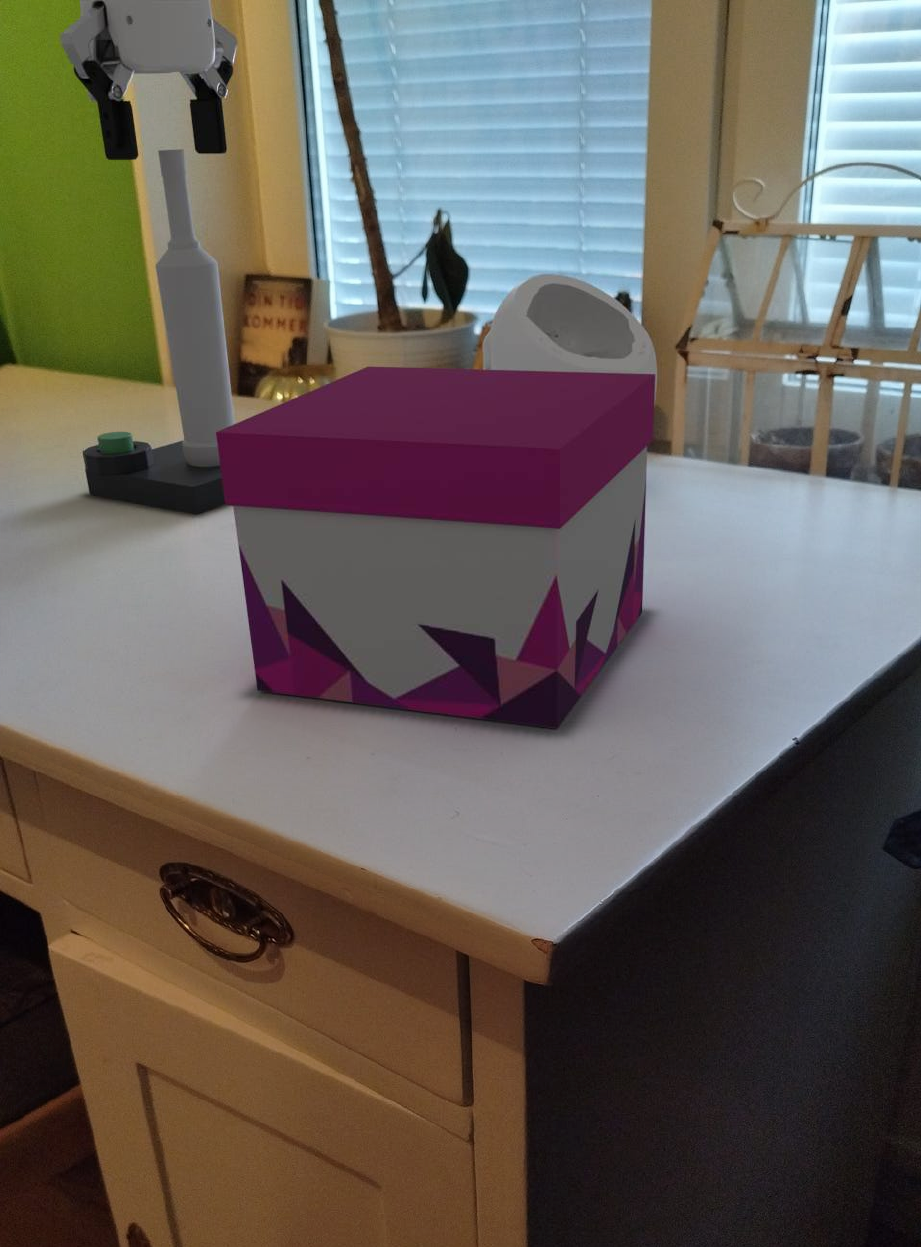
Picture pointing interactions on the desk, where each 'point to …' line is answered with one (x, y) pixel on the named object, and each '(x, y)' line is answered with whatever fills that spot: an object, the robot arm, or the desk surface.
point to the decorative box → (443, 536)
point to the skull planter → (563, 305)
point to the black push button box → (154, 478)
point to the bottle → (193, 323)
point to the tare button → (115, 442)
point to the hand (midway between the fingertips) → (168, 156)
